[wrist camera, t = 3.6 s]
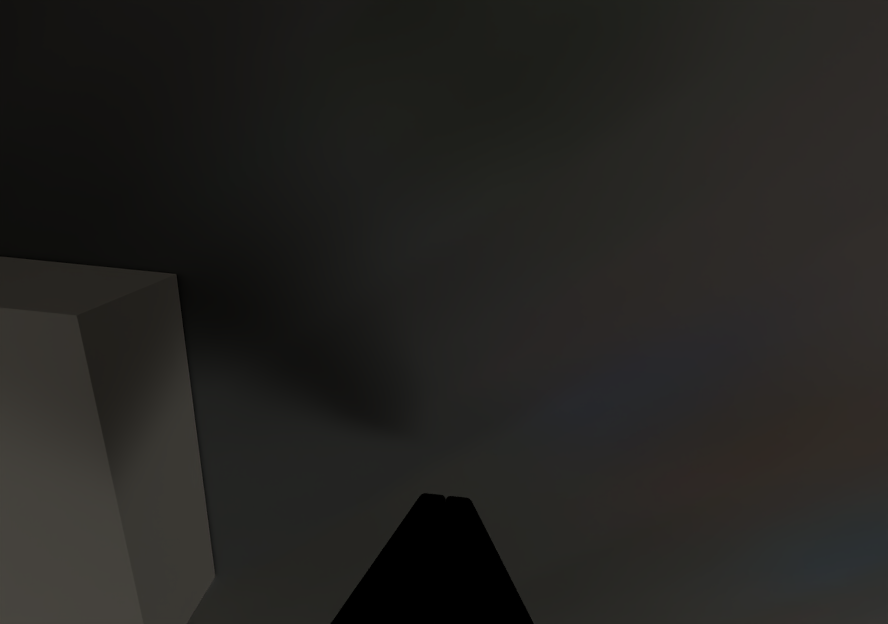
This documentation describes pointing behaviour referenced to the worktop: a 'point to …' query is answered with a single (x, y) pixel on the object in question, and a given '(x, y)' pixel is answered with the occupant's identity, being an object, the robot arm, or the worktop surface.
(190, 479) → the thin gray tile
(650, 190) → the worktop surface
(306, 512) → the worktop surface
